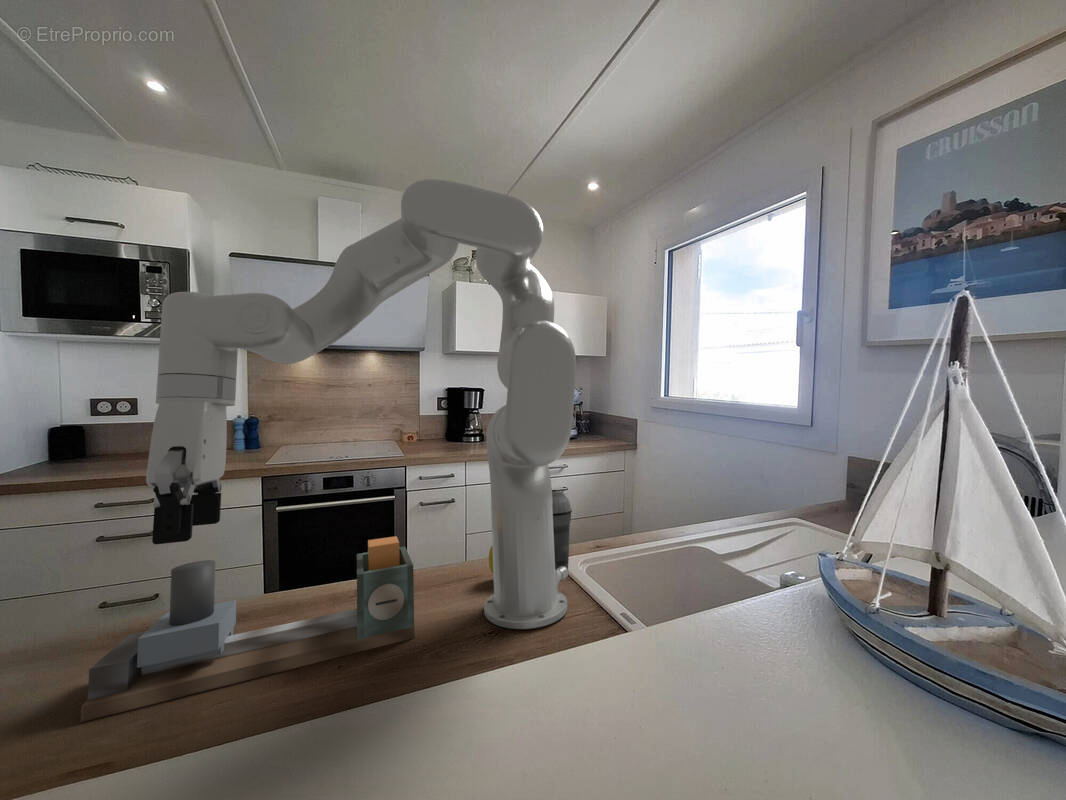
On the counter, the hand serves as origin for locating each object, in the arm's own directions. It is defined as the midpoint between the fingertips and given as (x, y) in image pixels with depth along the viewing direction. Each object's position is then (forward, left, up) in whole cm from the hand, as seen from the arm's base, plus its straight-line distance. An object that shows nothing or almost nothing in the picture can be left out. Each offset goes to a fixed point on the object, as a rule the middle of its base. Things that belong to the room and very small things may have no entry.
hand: (189, 532), depth 47 cm
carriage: (0, 0, -14) cm, 14 cm away
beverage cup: (-49, +21, -17) cm, 56 cm away
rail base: (-8, +5, -16) cm, 19 cm away
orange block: (-19, +11, -8) cm, 24 cm away
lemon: (-41, +15, -17) cm, 47 cm away
